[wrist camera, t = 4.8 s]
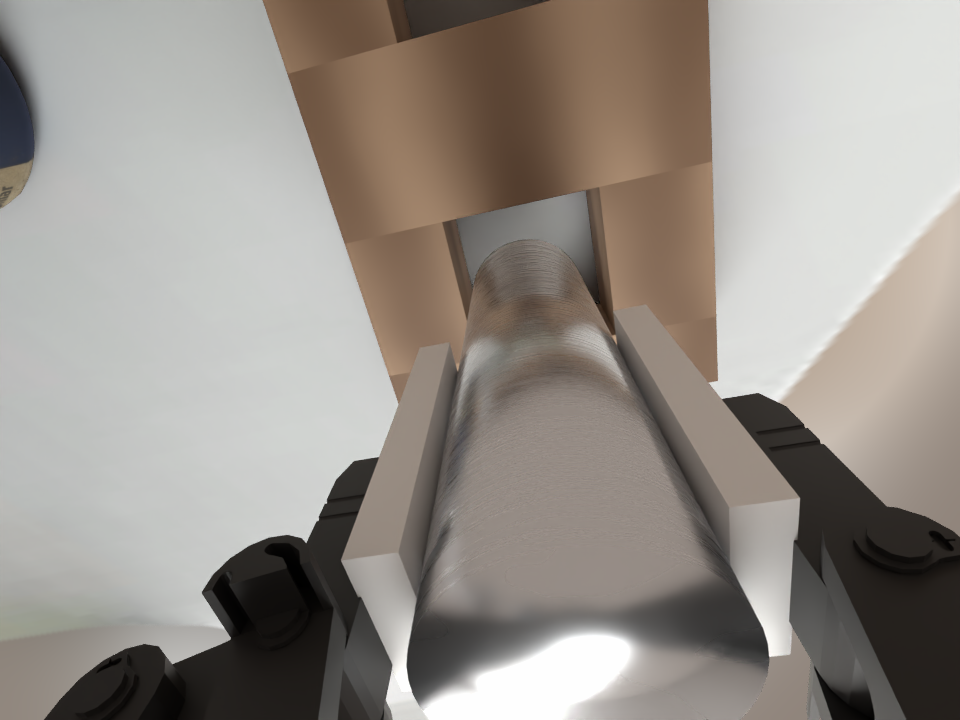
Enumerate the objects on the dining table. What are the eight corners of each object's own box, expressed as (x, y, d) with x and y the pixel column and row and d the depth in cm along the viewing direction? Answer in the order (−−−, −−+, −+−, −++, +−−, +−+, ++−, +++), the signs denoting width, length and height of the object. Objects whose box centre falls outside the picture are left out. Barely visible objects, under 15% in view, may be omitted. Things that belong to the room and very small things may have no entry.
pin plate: (421, 390, 27) (406, 435, 23) (235, -208, 17) (155, -306, 13) (687, 343, 25) (720, 383, 21) (650, -363, 15) (699, -531, 11)
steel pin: (485, 352, 19) (454, 784, 7) (462, 252, 18) (359, 574, 5) (588, 333, 19) (765, 761, 6) (574, 228, 17) (774, 520, 4)
